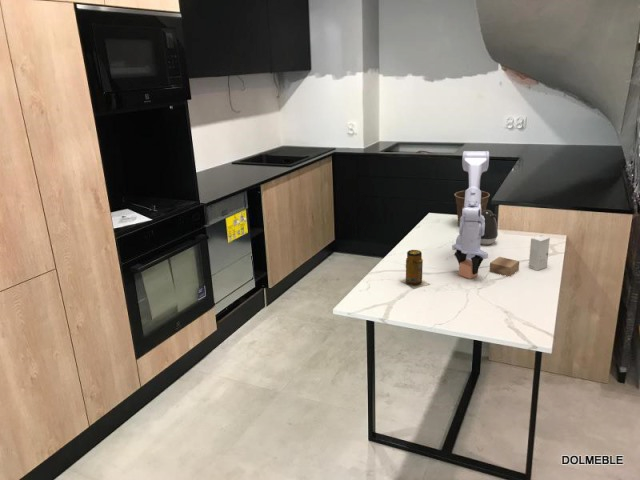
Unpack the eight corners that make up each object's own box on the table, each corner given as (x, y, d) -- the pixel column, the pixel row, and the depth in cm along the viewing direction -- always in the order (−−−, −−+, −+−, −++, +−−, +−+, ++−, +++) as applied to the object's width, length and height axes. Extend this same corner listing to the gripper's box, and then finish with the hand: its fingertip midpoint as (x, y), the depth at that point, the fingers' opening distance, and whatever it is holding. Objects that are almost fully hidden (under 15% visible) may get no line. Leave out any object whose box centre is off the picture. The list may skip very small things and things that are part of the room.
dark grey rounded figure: (485, 248, 218) (487, 214, 213) (468, 242, 226) (469, 209, 221) (502, 244, 222) (505, 210, 217) (485, 237, 231) (487, 205, 226)
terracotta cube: (458, 275, 192) (459, 262, 191) (466, 271, 195) (467, 259, 193) (470, 278, 188) (470, 266, 187) (477, 275, 191) (478, 262, 190)
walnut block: (489, 272, 194) (490, 262, 193) (498, 266, 200) (499, 256, 198) (509, 277, 189) (510, 267, 188) (518, 270, 194) (519, 261, 193)
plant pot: (454, 231, 241) (456, 198, 236) (451, 221, 256) (453, 190, 251) (490, 231, 239) (492, 198, 233) (485, 221, 254) (487, 189, 248)
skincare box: (538, 270, 193) (541, 241, 189) (527, 267, 196) (530, 238, 192) (547, 267, 196) (550, 237, 192) (537, 263, 199) (540, 234, 195)
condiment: (416, 276, 193) (416, 247, 189) (430, 284, 186) (430, 254, 182) (400, 280, 190) (400, 251, 186) (413, 288, 183) (414, 258, 179)
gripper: (447, 236, 190) (446, 269, 194) (481, 245, 179) (478, 280, 184) (459, 231, 194) (457, 264, 198) (492, 240, 183) (490, 274, 188)
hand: (468, 271), depth 191 cm, fingers closed on terracotta cube, 5 cm apart
